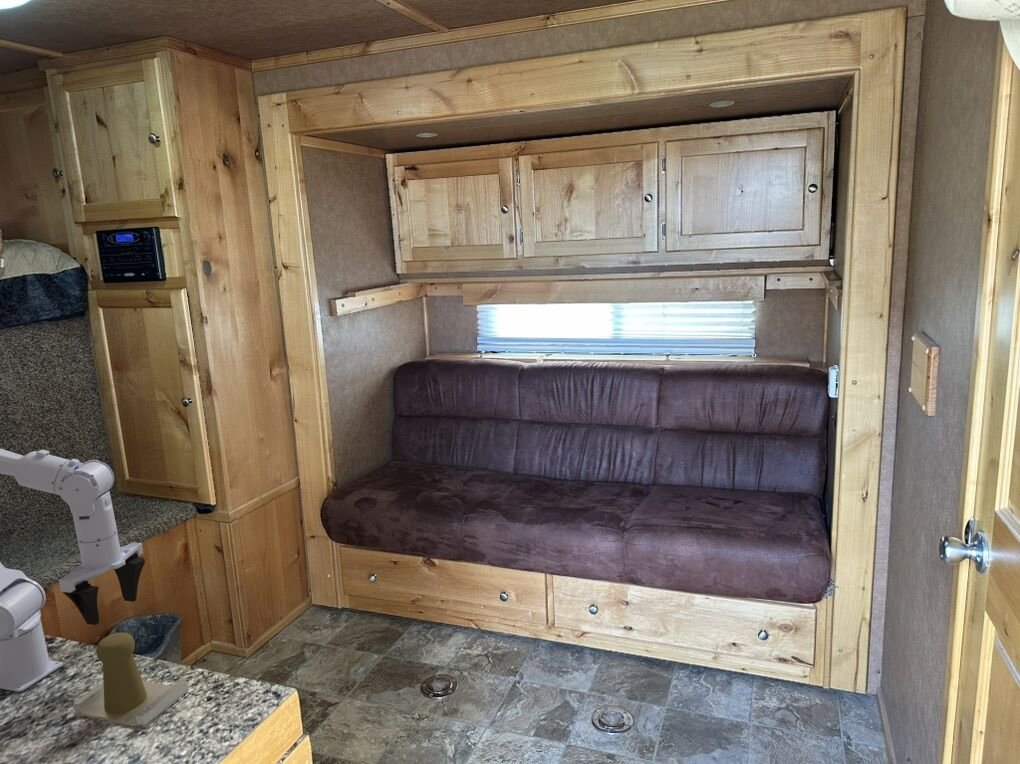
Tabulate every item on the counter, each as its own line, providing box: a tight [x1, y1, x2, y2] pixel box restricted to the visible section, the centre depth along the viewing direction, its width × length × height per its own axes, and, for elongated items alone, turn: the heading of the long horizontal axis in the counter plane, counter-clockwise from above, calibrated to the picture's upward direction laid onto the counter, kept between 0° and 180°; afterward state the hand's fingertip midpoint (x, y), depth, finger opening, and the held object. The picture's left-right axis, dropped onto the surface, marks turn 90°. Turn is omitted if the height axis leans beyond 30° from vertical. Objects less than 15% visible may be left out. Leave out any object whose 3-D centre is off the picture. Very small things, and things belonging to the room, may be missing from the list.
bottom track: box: [72, 679, 190, 729], centre depth 113 cm, size 14×9×2 cm, turn 71°
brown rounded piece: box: [96, 632, 147, 714], centre depth 112 cm, size 6×6×11 cm
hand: (112, 611), depth 121 cm, fingers open, 7 cm apart
